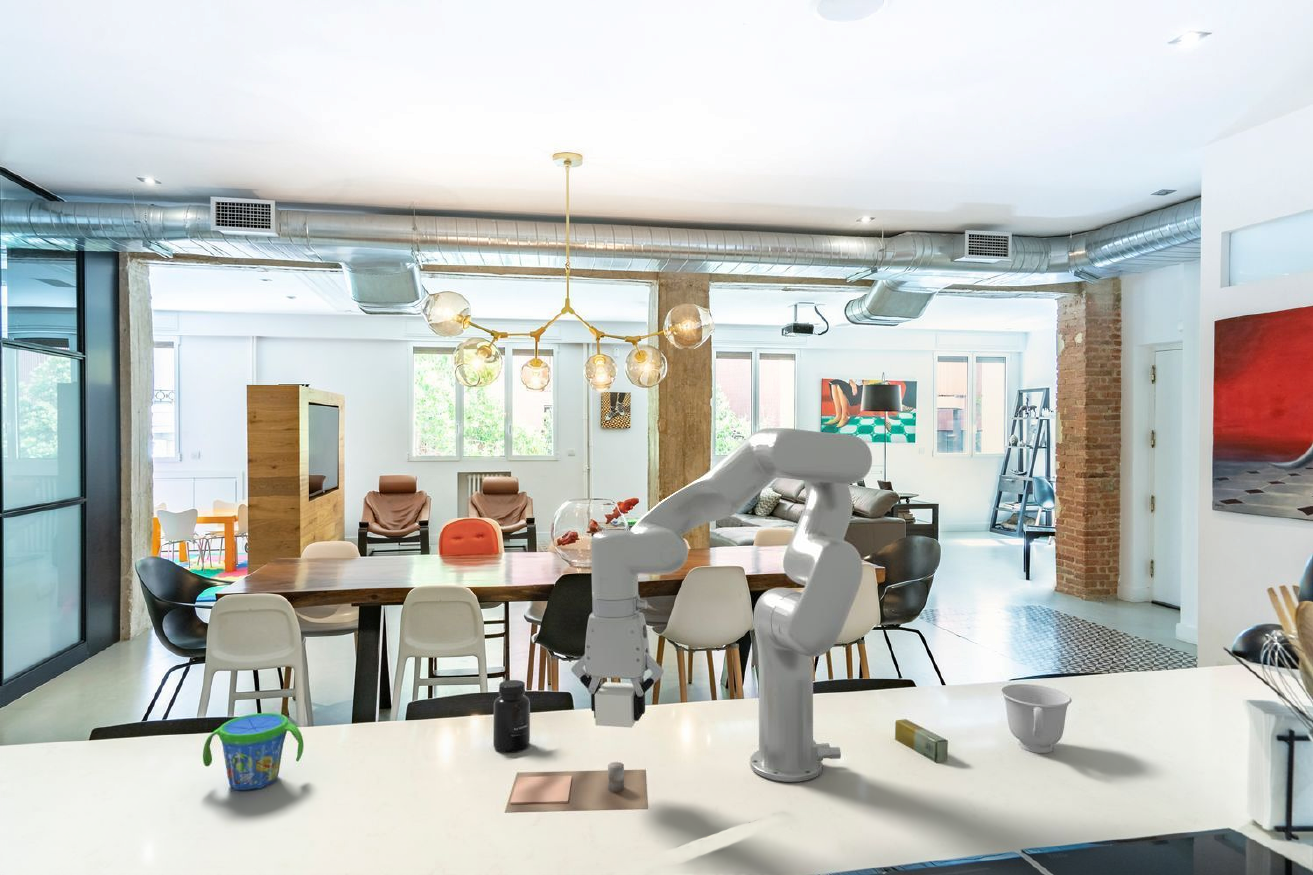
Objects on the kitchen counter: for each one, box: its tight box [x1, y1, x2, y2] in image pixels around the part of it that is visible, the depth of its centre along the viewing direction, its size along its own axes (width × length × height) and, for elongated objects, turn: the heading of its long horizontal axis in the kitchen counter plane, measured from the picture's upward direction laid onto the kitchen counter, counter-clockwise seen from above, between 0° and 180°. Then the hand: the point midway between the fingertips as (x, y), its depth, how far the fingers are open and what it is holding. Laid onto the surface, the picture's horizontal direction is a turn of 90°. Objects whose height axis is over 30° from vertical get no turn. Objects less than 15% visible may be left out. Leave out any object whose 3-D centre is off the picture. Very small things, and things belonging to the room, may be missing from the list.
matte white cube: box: [594, 681, 637, 728], centre depth 128 cm, size 6×6×5 cm
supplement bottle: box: [492, 679, 531, 754], centre depth 149 cm, size 7×7×12 cm
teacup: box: [1000, 683, 1073, 754], centre depth 146 cm, size 12×15×10 cm
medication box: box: [894, 719, 949, 764], centre depth 147 cm, size 12×3×4 cm, turn 21°
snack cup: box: [202, 712, 304, 791], centre depth 134 cm, size 16×10×10 cm
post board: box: [504, 761, 649, 813], centre depth 128 cm, size 22×14×5 cm, turn 92°
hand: (618, 715), depth 128 cm, fingers closed on matte white cube, 6 cm apart
